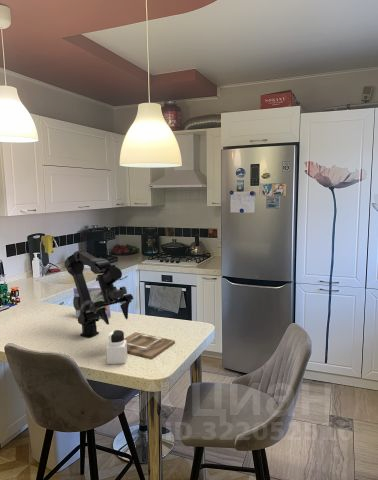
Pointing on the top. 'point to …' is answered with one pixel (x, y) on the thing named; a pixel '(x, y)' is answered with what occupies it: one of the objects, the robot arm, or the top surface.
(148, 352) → the walnut stand
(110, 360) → the medicine bottle
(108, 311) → the cake pan box
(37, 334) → the top surface
